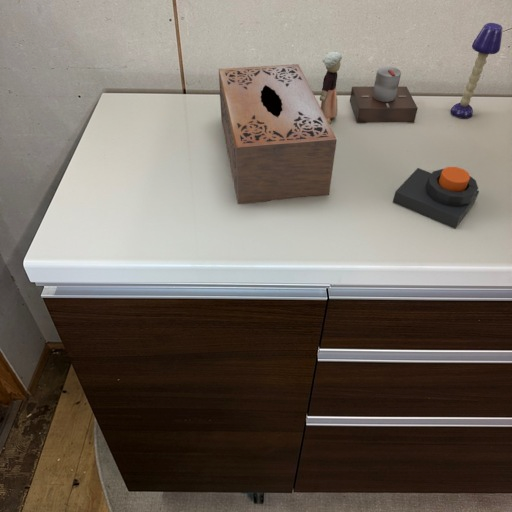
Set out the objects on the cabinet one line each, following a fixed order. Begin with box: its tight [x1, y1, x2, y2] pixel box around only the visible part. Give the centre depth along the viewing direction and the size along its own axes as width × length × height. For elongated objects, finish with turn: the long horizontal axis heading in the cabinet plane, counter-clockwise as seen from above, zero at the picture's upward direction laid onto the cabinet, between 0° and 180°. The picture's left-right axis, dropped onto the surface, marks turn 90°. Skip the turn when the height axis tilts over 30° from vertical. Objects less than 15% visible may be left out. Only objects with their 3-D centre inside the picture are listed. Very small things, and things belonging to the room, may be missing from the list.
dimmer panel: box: [349, 86, 419, 124], centre depth 92 cm, size 11×9×3 cm
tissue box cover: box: [218, 63, 338, 205], centre depth 79 cm, size 26×14×10 cm, turn 9°
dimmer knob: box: [373, 66, 402, 102], centre depth 89 cm, size 4×4×5 cm
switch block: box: [392, 167, 480, 230], centre depth 72 cm, size 10×8×4 cm
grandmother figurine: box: [319, 51, 343, 126], centre depth 87 cm, size 8×4×13 cm, turn 168°
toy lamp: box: [449, 22, 503, 120], centre depth 87 cm, size 5×5×17 cm
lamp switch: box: [439, 166, 471, 192], centre depth 70 cm, size 4×4×2 cm
